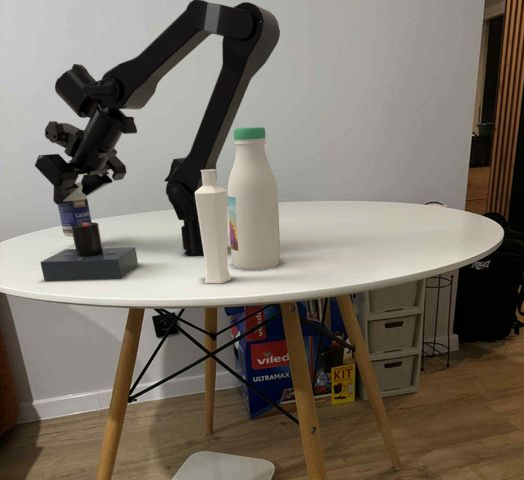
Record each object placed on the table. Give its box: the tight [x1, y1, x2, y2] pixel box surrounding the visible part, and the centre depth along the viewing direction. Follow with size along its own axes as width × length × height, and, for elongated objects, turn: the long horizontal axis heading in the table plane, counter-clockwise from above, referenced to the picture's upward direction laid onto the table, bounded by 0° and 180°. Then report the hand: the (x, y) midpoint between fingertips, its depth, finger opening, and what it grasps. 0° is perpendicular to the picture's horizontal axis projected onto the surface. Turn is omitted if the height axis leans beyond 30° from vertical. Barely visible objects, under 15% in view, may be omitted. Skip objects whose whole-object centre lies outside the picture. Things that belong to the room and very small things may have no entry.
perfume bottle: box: [195, 169, 232, 284], centre depth 69 cm, size 5×4×15 cm
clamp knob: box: [71, 222, 103, 256], centre depth 78 cm, size 4×4×5 cm
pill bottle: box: [57, 181, 93, 238], centre depth 99 cm, size 6×6×10 cm
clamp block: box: [40, 246, 139, 282], centre depth 79 cm, size 12×9×3 cm
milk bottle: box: [227, 126, 281, 270], centre depth 76 cm, size 8×8×20 cm
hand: (67, 200), depth 99 cm, fingers closed on pill bottle, 6 cm apart
